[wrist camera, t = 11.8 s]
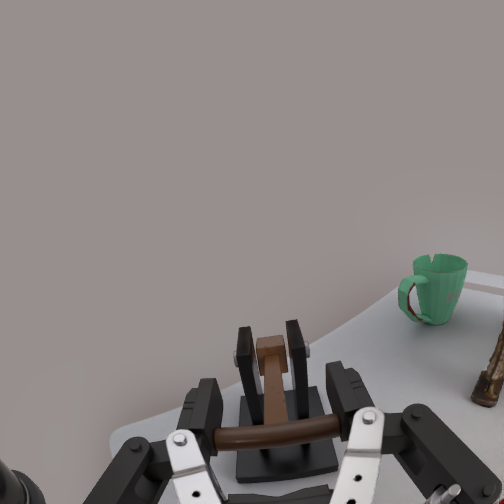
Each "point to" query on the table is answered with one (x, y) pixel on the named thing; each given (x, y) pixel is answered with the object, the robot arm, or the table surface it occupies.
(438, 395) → the table surface
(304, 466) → the bracket
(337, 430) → the lever
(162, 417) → the table surface
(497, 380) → the figurine
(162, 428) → the table surface
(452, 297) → the mug
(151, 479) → the robot arm
